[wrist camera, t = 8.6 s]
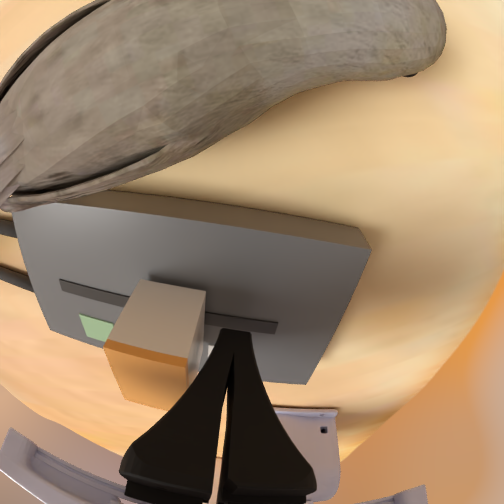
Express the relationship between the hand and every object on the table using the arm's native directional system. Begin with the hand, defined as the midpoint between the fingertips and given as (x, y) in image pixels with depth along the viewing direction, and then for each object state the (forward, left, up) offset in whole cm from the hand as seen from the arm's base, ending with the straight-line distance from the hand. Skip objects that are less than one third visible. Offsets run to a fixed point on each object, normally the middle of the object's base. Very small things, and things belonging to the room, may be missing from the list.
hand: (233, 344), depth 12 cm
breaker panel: (+4, 0, -3) cm, 5 cm away
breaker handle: (+3, 0, -1) cm, 3 cm away
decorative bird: (+3, -10, -4) cm, 12 cm away
